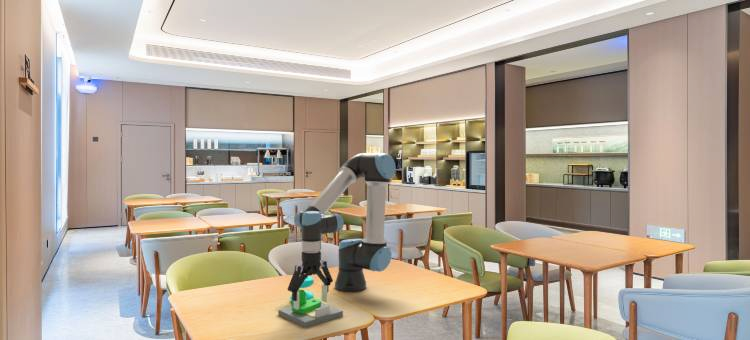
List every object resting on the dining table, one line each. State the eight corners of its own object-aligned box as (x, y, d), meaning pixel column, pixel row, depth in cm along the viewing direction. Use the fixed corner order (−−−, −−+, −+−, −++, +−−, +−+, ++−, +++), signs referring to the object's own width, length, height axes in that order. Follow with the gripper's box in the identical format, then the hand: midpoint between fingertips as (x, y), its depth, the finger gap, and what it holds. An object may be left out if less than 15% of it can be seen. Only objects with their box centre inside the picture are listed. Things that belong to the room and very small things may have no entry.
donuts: (307, 282, 186) (286, 279, 189) (306, 305, 186) (285, 302, 189) (317, 276, 195) (297, 273, 198) (317, 298, 195) (297, 296, 199)
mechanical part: (303, 314, 169) (303, 293, 169) (291, 310, 173) (292, 290, 172) (324, 305, 179) (324, 286, 179) (313, 302, 182) (313, 283, 182)
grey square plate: (315, 304, 187) (315, 292, 187) (342, 315, 174) (343, 303, 174) (278, 314, 175) (278, 302, 174) (305, 327, 162) (305, 314, 162)
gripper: (330, 245, 185) (329, 295, 186) (278, 253, 168) (278, 309, 168) (341, 248, 180) (341, 300, 180) (289, 257, 162) (289, 314, 163)
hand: (310, 304), depth 174 cm, fingers open, 13 cm apart
